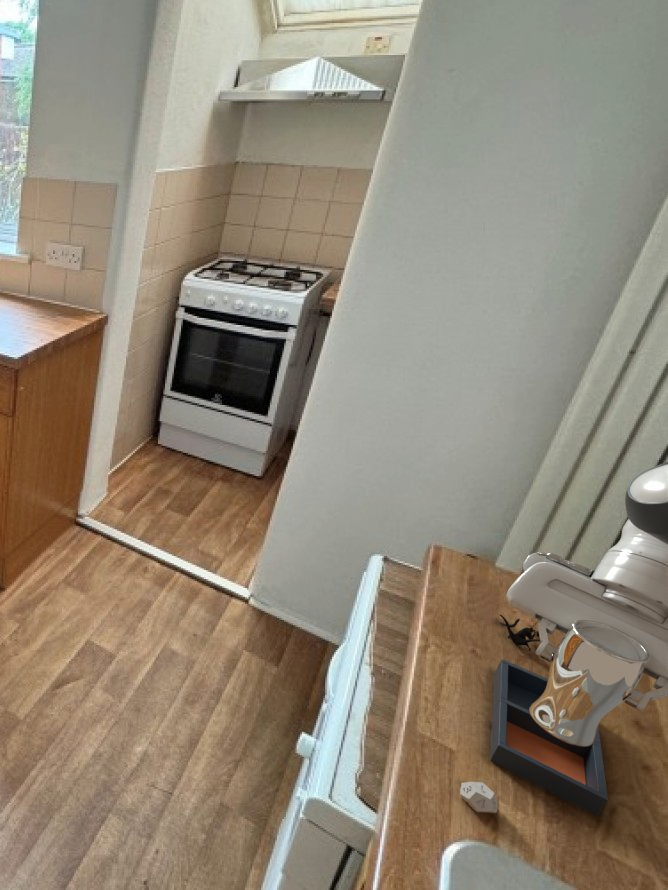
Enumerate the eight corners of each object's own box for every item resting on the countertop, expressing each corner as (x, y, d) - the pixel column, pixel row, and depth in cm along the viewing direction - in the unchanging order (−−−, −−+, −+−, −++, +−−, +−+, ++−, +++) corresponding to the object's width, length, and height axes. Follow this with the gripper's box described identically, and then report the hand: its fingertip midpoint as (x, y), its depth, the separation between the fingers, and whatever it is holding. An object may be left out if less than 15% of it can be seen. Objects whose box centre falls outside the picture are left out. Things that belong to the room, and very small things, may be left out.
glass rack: (493, 675, 94) (501, 658, 93) (584, 716, 88) (595, 699, 87) (488, 763, 81) (498, 745, 80) (595, 819, 75) (608, 800, 74)
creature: (504, 626, 105) (481, 630, 102) (520, 601, 104) (496, 604, 101) (561, 661, 99) (538, 666, 95) (579, 635, 97) (556, 640, 94)
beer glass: (607, 761, 74) (665, 673, 69) (532, 732, 78) (581, 646, 72) (586, 717, 80) (638, 632, 74) (517, 692, 83) (562, 609, 78)
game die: (492, 802, 77) (501, 787, 75) (493, 827, 74) (502, 811, 73) (456, 784, 79) (464, 769, 78) (456, 807, 76) (465, 791, 75)
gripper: (535, 538, 83) (482, 619, 82) (780, 641, 67) (717, 744, 66) (534, 553, 87) (482, 630, 86) (764, 654, 71) (705, 751, 69)
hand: (586, 681), depth 75 cm, fingers closed on beer glass, 7 cm apart
